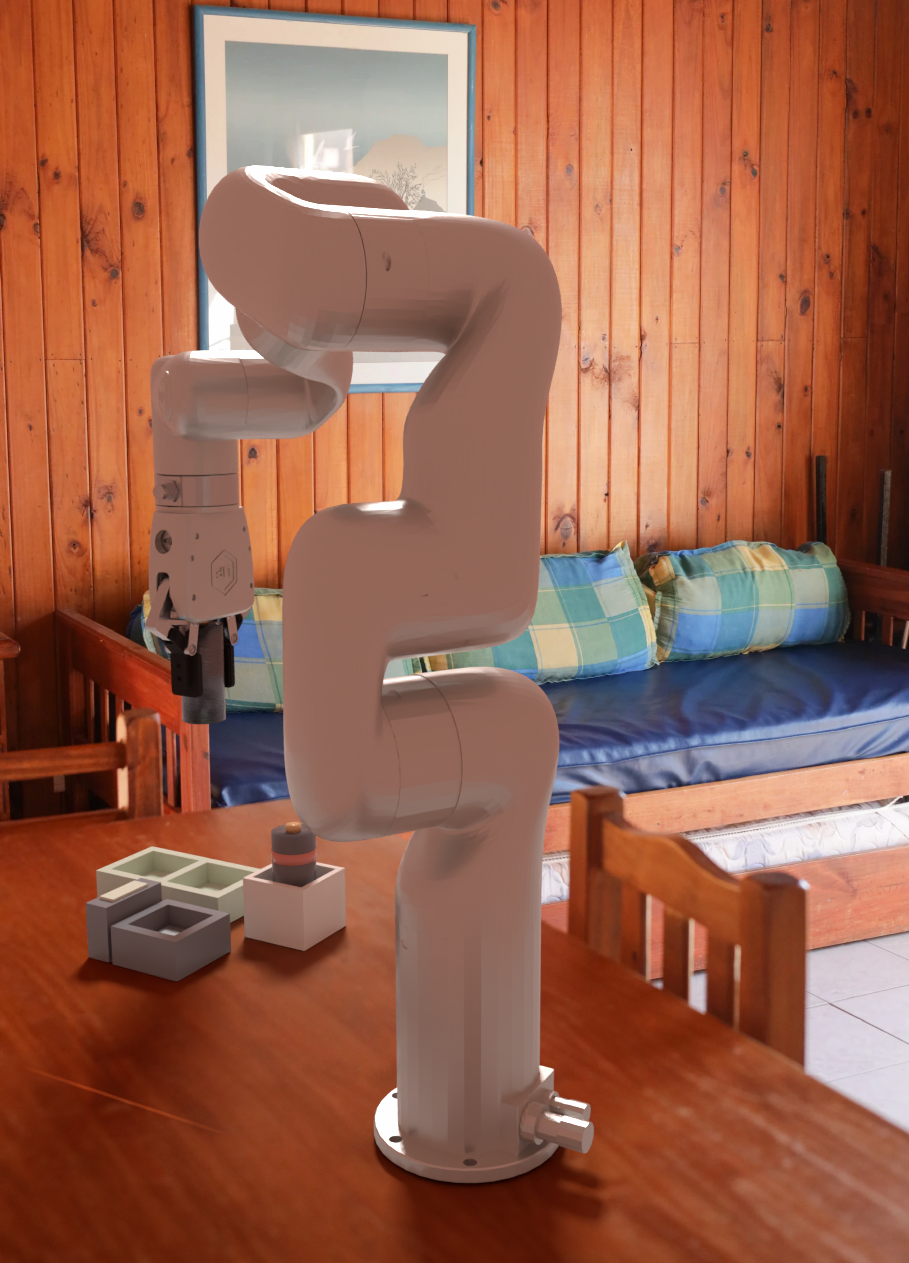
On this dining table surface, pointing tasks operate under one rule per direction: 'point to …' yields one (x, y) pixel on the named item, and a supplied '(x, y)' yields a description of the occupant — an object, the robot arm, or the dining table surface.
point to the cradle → (154, 931)
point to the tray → (181, 878)
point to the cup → (294, 893)
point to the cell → (208, 677)
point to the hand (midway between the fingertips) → (203, 688)
